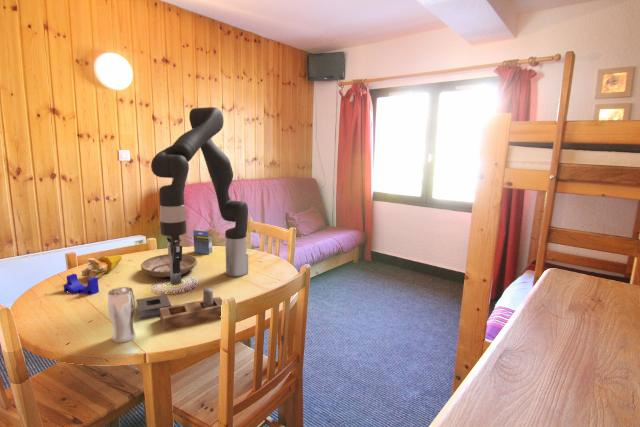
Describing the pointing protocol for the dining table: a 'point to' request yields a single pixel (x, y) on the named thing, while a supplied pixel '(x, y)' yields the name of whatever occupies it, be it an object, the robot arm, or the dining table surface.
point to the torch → (101, 266)
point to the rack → (191, 311)
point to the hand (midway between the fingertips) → (175, 270)
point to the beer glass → (122, 313)
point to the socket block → (151, 306)
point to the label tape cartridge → (202, 242)
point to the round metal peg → (174, 277)
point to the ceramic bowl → (166, 265)
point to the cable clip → (77, 287)
